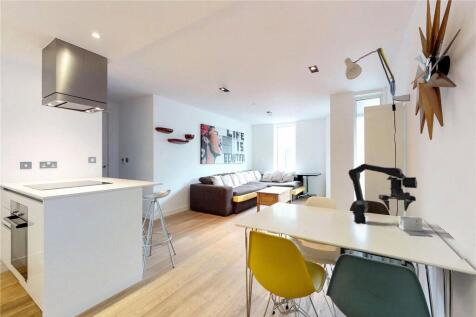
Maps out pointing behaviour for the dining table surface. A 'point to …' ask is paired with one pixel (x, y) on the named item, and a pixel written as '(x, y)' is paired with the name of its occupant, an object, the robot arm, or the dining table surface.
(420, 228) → the small box
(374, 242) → the dining table surface
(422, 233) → the mat
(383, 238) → the dining table surface
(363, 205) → the robot arm
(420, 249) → the dining table surface
